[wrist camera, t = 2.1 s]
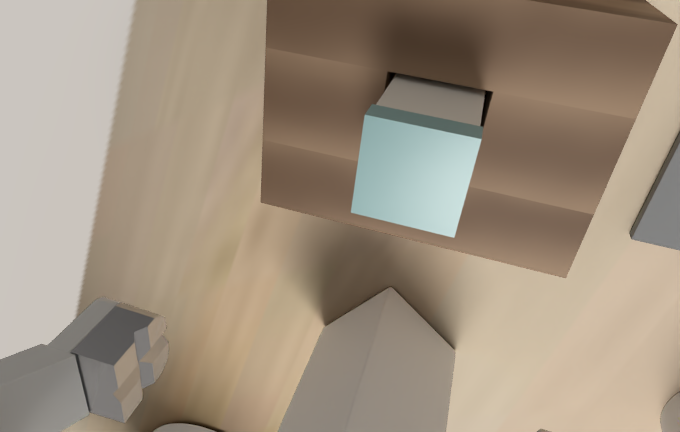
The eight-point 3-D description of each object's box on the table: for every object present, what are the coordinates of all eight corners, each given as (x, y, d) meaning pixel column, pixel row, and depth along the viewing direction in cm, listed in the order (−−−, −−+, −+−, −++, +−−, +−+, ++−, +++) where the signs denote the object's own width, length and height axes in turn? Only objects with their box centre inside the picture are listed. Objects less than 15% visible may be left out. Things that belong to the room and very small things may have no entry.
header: (557, 217, 31) (565, 278, 26) (298, 157, 33) (260, 202, 28) (643, -2, 24) (677, 24, 19) (313, -53, 27) (268, -42, 22)
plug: (472, 133, 30) (454, 237, 20) (399, 118, 30) (350, 212, 21) (492, 59, 27) (481, 139, 18) (412, 44, 28) (364, 114, 19)
